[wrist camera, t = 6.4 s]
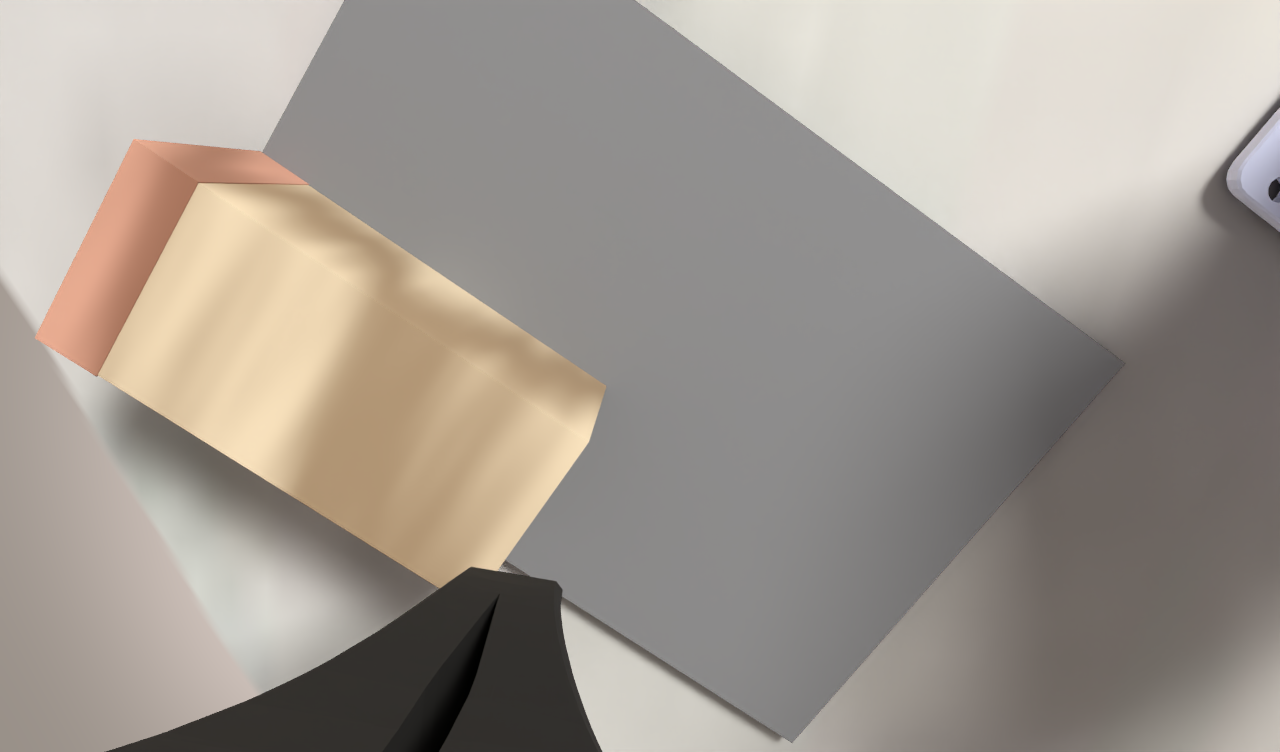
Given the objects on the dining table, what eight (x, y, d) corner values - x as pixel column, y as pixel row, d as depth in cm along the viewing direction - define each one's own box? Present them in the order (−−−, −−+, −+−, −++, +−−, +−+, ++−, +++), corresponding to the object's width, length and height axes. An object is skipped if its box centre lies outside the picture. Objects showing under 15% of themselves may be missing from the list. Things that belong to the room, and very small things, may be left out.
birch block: (589, 441, 14) (134, 139, 13) (470, 609, 14) (35, 337, 13) (607, 385, 17) (260, 151, 17) (512, 519, 18) (177, 304, 17)
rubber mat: (1112, 358, 17) (1125, 363, 17) (789, 729, 20) (792, 743, 19) (435, -143, 16) (427, -154, 15) (174, 336, 18) (160, 340, 18)
